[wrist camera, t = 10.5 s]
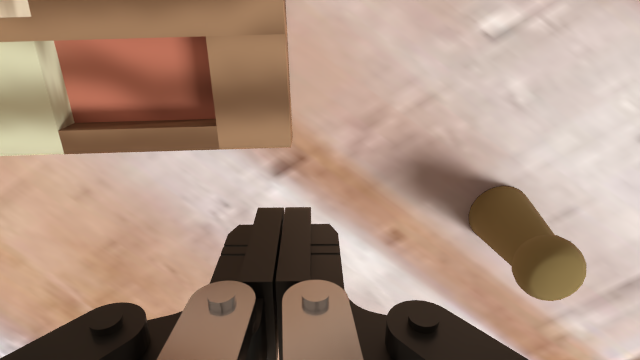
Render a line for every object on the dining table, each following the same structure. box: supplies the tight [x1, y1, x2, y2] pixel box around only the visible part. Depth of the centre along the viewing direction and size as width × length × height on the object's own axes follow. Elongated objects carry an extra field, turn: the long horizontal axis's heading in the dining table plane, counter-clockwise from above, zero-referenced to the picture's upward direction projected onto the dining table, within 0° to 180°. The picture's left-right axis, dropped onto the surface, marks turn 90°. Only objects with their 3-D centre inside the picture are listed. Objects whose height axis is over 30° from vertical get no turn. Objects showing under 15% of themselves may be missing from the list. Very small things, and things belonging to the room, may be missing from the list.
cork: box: [469, 186, 586, 301], centre depth 36 cm, size 6×6×11 cm
